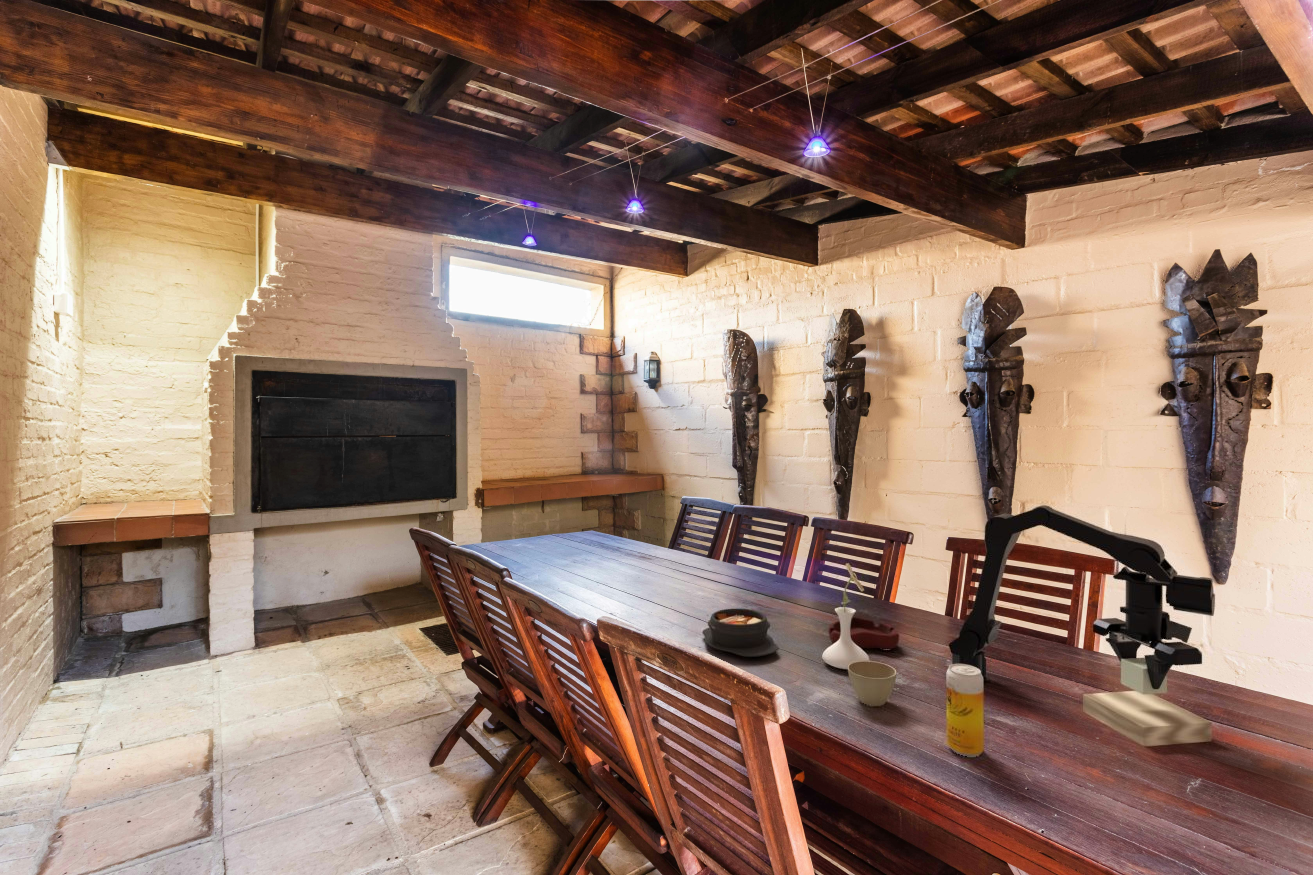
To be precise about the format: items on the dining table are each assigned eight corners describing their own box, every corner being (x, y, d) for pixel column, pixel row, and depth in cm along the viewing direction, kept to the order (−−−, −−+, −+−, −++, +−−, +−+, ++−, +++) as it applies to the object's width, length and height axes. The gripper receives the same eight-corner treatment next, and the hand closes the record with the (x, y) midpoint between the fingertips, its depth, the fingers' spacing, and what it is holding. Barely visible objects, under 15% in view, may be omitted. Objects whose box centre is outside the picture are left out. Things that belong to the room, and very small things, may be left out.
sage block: (1143, 694, 118) (1143, 668, 118) (1120, 683, 123) (1121, 658, 123) (1166, 692, 118) (1166, 667, 118) (1143, 681, 123) (1143, 657, 123)
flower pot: (895, 694, 136) (895, 662, 136) (897, 715, 126) (897, 680, 126) (848, 689, 139) (848, 657, 139) (847, 708, 130) (846, 675, 130)
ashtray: (886, 633, 176) (885, 616, 176) (903, 654, 160) (902, 635, 160) (822, 632, 178) (822, 615, 178) (833, 653, 162) (832, 634, 162)
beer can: (940, 742, 116) (939, 663, 115) (970, 740, 116) (970, 661, 116) (958, 759, 109) (958, 676, 109) (991, 757, 110) (990, 674, 110)
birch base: (1143, 748, 113) (1143, 727, 113) (1083, 713, 127) (1083, 694, 127) (1211, 743, 115) (1211, 722, 114) (1144, 708, 128) (1144, 689, 128)
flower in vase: (864, 677, 145) (863, 572, 145) (816, 668, 151) (815, 567, 151) (875, 659, 157) (874, 561, 156) (830, 651, 162) (829, 557, 162)
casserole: (687, 638, 174) (686, 608, 174) (741, 627, 182) (741, 599, 182) (735, 669, 152) (735, 635, 152) (795, 655, 160) (795, 623, 160)
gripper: (1229, 617, 112) (1229, 702, 112) (1139, 590, 130) (1138, 662, 131) (1174, 620, 111) (1173, 705, 111) (1091, 592, 129) (1090, 665, 130)
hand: (1143, 683), depth 121 cm, fingers closed on sage block, 5 cm apart
